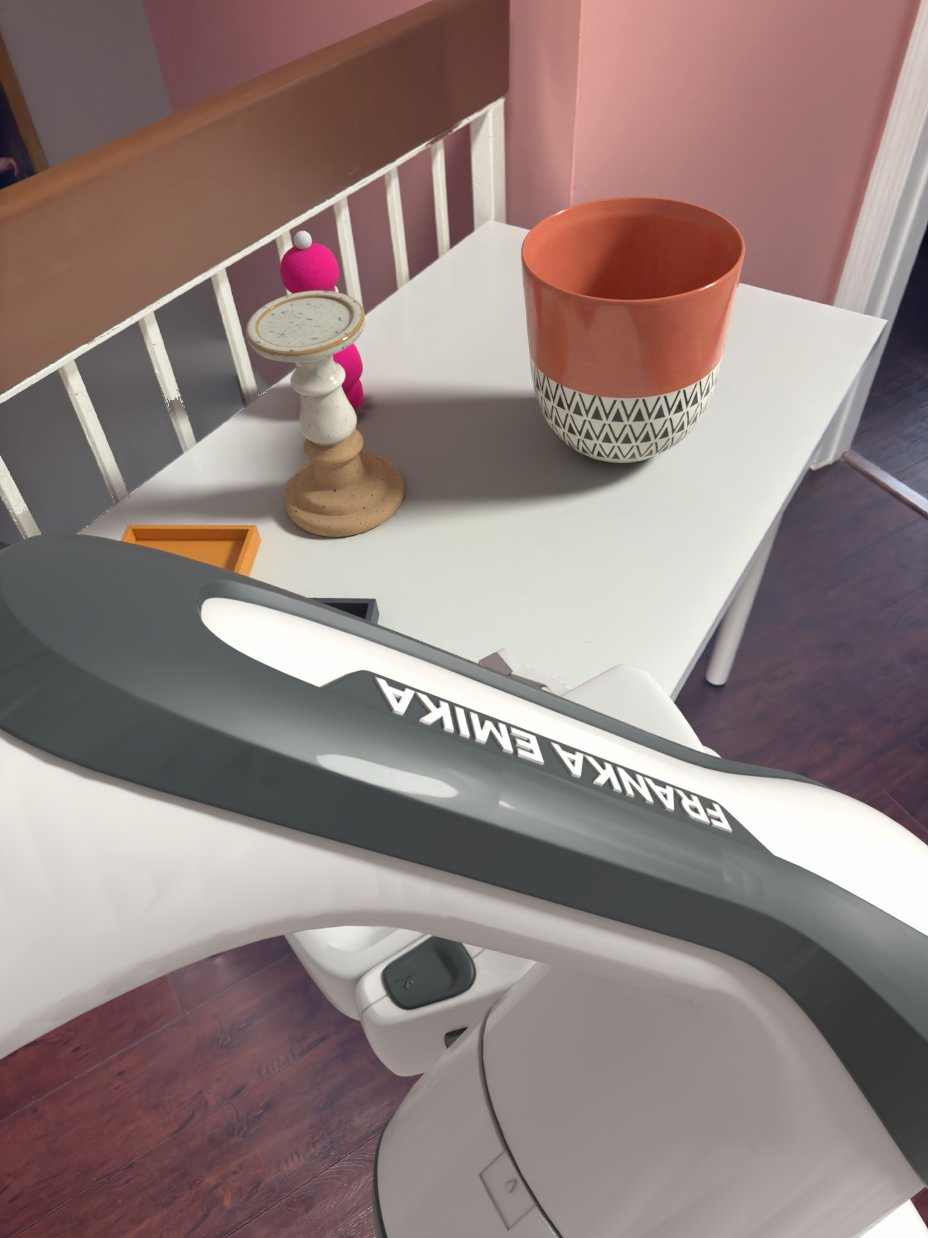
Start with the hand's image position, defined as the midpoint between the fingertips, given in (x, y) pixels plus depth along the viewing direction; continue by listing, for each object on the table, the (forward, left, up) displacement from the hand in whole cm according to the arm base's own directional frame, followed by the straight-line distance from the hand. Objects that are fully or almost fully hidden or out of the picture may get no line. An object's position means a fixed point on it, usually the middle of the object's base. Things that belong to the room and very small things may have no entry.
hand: (409, 703), depth 45 cm
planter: (+13, +53, -24) cm, 59 cm away
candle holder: (-15, +44, -24) cm, 52 cm away
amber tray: (-29, +31, -24) cm, 49 cm away
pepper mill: (-19, +61, -24) cm, 68 cm away
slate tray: (-15, +22, -24) cm, 36 cm away
